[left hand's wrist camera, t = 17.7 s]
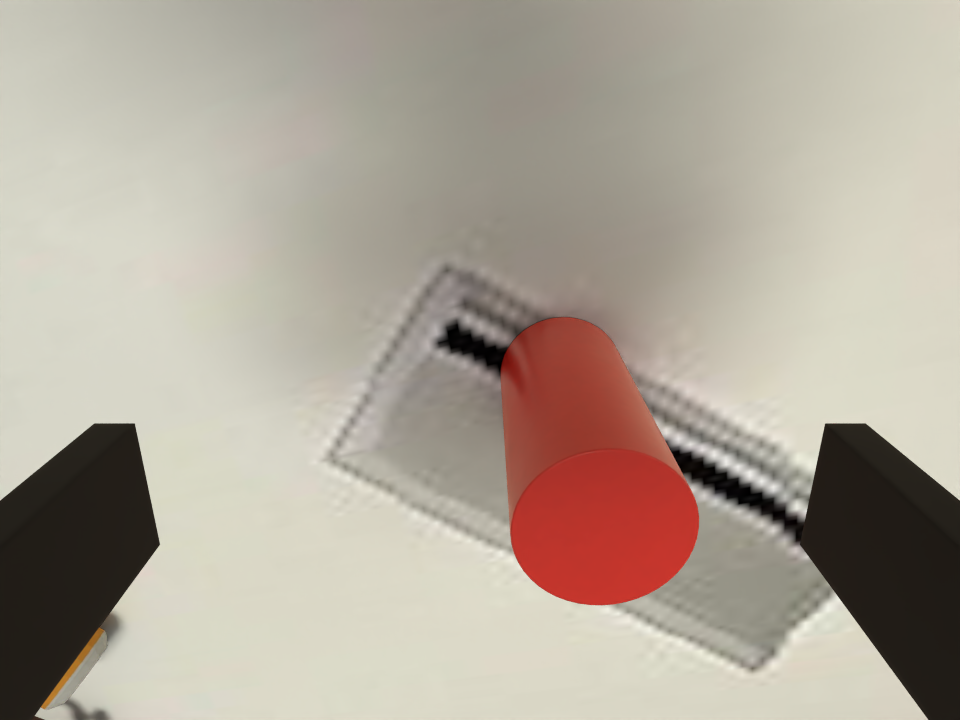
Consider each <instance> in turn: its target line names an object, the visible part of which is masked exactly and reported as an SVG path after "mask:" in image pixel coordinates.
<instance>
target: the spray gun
mask: <svg viewBox="0 0 960 720" xmlns="http://www.w3.org/2000/svg"><path fill="white" fill-rule="evenodd" d="M107 646H108V645H107V635H106V632H105V631H104V630H103V629H101V628H98V630H97V631H96V632H95V634H94V635H93V637H92V638H91V639H90V641H89V642H88V643H87V645H86V646H85V647H84V649H83V650H82V652H81V653H80V654H79V656H78V657H77V658H76V660H75V661H74V662H73V664H72V665H71V667H70V668H69V669H68V671H67V672H66V673H65V675H64V676H63V677H62V679H61V680H60V682H59V683H58V684H57V686H56V687H55V688H54V690H53V691H52V692H51V694H50V695H49V697H48V698H47V699H46V701H45V702H44V703H43V705H42V706H41V708H43V709H51V708H53V707H56V706H59V705H61V704H64V703H65V702H66V701H67V700H68V699H69V697H70V696H71V695H72V694H73V693H74V691H75V690H76V689H77V687H78V686H79V685H80V684H81V682H82V681H83V680H84V678H85V677H86V676H87V674H88V673H89V672H90V670H91V669H92V668H93V666H94V665H95V663H96V662H97V661H98V659H99V658H100V656H101V655H102V654H103V652H104V651H105V649H106V647H107ZM32 720H44V719H41V718H38V717H36V716H34V717H33V718H32Z"/></svg>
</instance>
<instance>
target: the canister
mask: <svg viewBox="0 0 960 720" xmlns="http://www.w3.org/2000/svg"><path fill="white" fill-rule="evenodd" d="M501 391H502V408H503V424H504V440H505V456H506V472H507V489H508V505H509V521H510V536H511V544H512V548H513V551H514V554H515V556H516V559H517V561H518V563H519V564H520V566H521V568H522V569H523V571H524V572H525V573H526V574H527V575H528V576H529V578H530V579H531V580H532V581H533V582H535V583H536V584H537V585H538V586H539V587H541V588H542V589H544V590H545V591H547V592H548V593H550V594H552V595H554V596H556V597H559V598H561V599H564V600H567V601H571V602H575V603H579V604H587V605H611V604H618V603H623V602H627V601H631V600H634V599H637V598H640V597H642V596H645V595H647V594H649V593H651V592H653V591H654V590H656V589H658V588H659V587H661V586H662V585H664V584H665V583H667V582H668V581H669V580H670V579H671V578H672V577H674V576H675V575H676V574H677V573H678V571H679V570H680V569H681V568H682V567H683V565H684V564H685V563H686V561H687V560H688V558H689V556H690V554H691V552H692V550H693V548H694V545H695V542H696V540H697V535H698V529H699V513H698V507H697V503H696V500H695V497H694V495H693V493H692V491H691V489H690V487H689V485H688V483H687V481H686V479H685V478H684V476H683V474H682V472H681V470H680V468H679V466H678V464H677V462H676V460H675V459H674V457H673V455H672V453H671V451H670V449H669V447H668V445H667V443H666V442H665V440H664V438H663V436H662V434H661V432H660V430H659V428H658V426H657V424H656V423H655V421H654V419H653V417H652V415H651V413H650V411H649V409H648V407H647V406H646V404H645V402H644V400H643V398H642V396H641V394H640V392H639V390H638V388H637V387H636V385H635V383H634V381H633V379H632V377H631V375H630V373H629V371H628V370H627V368H626V366H625V364H624V362H623V360H622V358H621V356H620V354H619V352H618V351H617V349H616V347H615V345H614V343H613V342H612V340H611V339H610V338H609V337H608V336H607V335H606V334H605V333H604V332H603V331H602V330H601V329H599V328H598V327H596V326H595V325H593V324H591V323H589V322H586V321H584V320H580V319H576V318H570V317H559V318H551V319H547V320H543V321H541V322H538V323H536V324H534V325H532V326H530V327H528V328H527V329H525V330H524V331H523V332H521V333H520V334H519V335H518V336H517V337H516V338H515V339H514V341H513V342H512V343H511V345H510V346H509V348H508V349H507V351H506V353H505V355H504V358H503V361H502V366H501Z"/></svg>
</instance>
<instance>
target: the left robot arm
mask: <svg viewBox="0 0 960 720" xmlns="http://www.w3.org/2000/svg"><path fill="white" fill-rule="evenodd" d="M159 545H160V543H159V538H158V533H157V528H156V523H155V519H154V514H153V509H152V504H151V499H150V495H149V490H148V485H147V480H146V475H145V471H144V466H143V461H142V456H141V451H140V447H139V442H138V437H137V432H136V427H135V424H93V425H92V426H91V427H90V428H88V429H87V430H86V431H85V432H84V433H82V434H81V435H80V436H79V437H77V438H76V439H75V440H74V441H73V442H71V443H70V444H69V445H68V446H66V447H65V448H64V449H63V450H62V451H60V452H59V453H58V454H57V455H55V456H54V457H53V458H52V459H51V460H49V461H48V462H47V463H46V464H44V465H43V466H42V467H41V468H40V469H38V470H37V471H36V472H35V473H33V474H32V475H31V476H30V477H29V478H27V479H26V480H25V481H24V482H22V483H21V484H20V485H19V486H18V487H16V488H15V489H14V490H13V491H11V492H10V493H9V494H8V495H7V496H5V497H4V498H3V499H2V500H1V501H0V720H32V718H33V717H34V716H35V714H36V713H37V712H38V710H39V709H40V707H41V706H42V705H43V703H44V702H45V701H46V699H47V698H48V697H49V695H50V694H51V692H52V691H53V690H54V688H55V687H56V686H57V684H58V683H59V682H60V680H61V679H62V677H63V676H64V675H65V673H66V672H67V671H68V669H69V668H70V667H71V665H72V664H73V662H74V661H75V660H76V658H77V657H78V656H79V654H80V653H81V652H82V650H83V649H84V647H85V646H86V645H87V643H88V642H89V641H90V639H91V638H92V637H93V635H94V634H95V632H96V631H97V630H98V628H99V627H100V626H101V624H102V623H103V622H104V620H105V619H106V617H107V616H108V615H109V613H110V612H111V611H112V609H113V608H114V606H115V605H116V604H117V602H118V601H119V600H120V598H121V597H122V596H123V594H124V593H125V591H126V590H127V589H128V587H129V586H130V585H131V583H132V582H133V581H134V579H135V578H136V576H137V575H138V574H139V572H140V571H141V570H142V568H143V567H144V566H145V564H146V563H147V561H148V560H149V559H150V557H151V556H152V555H153V553H154V552H155V551H156V549H157V548H158V546H159ZM800 545H801V546H802V548H803V549H804V551H805V552H806V553H807V555H808V556H809V557H810V559H811V560H812V561H813V563H814V564H815V566H816V567H817V568H818V570H819V571H820V572H821V574H822V575H823V576H824V578H825V579H826V581H827V582H828V583H829V585H830V586H831V587H832V589H833V590H834V591H835V593H836V594H837V596H838V597H839V598H840V600H841V601H842V602H843V604H844V605H845V606H846V608H847V609H848V611H849V612H850V613H851V615H852V616H853V617H854V619H855V620H856V622H857V623H858V624H859V626H860V627H861V628H862V630H863V631H864V632H865V634H866V635H867V637H868V638H869V639H870V641H871V642H872V643H873V645H874V646H875V647H876V649H877V650H878V652H879V653H880V654H881V656H882V657H883V658H884V660H885V661H886V662H887V664H888V665H889V667H890V668H891V669H892V671H893V672H894V673H895V675H896V676H897V677H898V679H899V680H900V682H901V683H902V684H903V686H904V687H905V688H906V690H907V691H908V692H909V694H910V695H911V697H912V698H913V699H914V701H915V702H916V703H917V705H918V706H919V707H920V709H921V710H922V712H923V713H924V714H925V716H926V717H927V718H928V720H960V501H959V500H958V499H957V498H956V497H955V496H953V495H952V494H951V493H950V492H949V491H947V490H946V489H945V488H944V487H942V486H941V485H940V484H939V483H938V482H936V481H935V480H934V479H933V478H931V477H930V476H929V475H928V474H927V473H925V472H924V471H923V470H922V469H920V468H919V467H918V466H917V465H916V464H914V463H913V462H912V461H911V460H909V459H908V458H907V457H906V456H905V455H903V454H902V453H901V452H900V451H898V450H897V449H896V448H895V447H894V446H892V445H891V444H890V443H889V442H887V441H886V440H885V439H884V438H883V437H881V436H880V435H879V434H878V433H876V432H875V431H874V430H873V429H872V428H870V427H869V426H868V425H867V424H825V427H824V432H823V437H822V442H821V447H820V451H819V456H818V461H817V466H816V471H815V475H814V480H813V485H812V490H811V495H810V499H809V504H808V509H807V514H806V519H805V523H804V528H803V533H802V538H801V543H800Z"/></svg>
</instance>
